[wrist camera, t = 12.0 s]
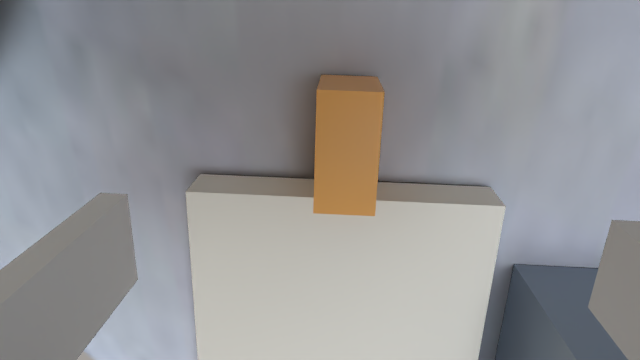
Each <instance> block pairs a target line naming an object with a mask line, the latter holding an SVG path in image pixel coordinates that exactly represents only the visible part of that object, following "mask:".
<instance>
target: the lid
mask: <svg viewBox="0 0 640 360" xmlns="http://www.w3.org/2000/svg"><path fill="white" fill-rule="evenodd" d="M384 94H385V92H384V90H383V88H382V86H381V83H380V81H379V79H378V77H373V76H347V75H321V77H320V80H319V84H318V87H317V95H316V131H315V167H314V179H301V178H278V177H256V176H233V175H211V174H200V175H199V176H198V178H197V179H196V180H195V181H194V182H193V184H192V185H191V186H190V187H189V188H188V189H187V191H186V204H187V217H188V231H189V245H190V259H191V272H192V286H193V300H194V313H195V327H196V341H197V355H198V360H478V357H479V351H480V346H481V340H482V335H483V329H484V324H485V318H486V313H487V307H488V302H489V296H490V291H491V285H492V280H493V274H494V269H495V263H496V258H497V252H498V246H499V241H500V235H501V230H502V224H503V219H504V213H505V208H506V206H505V205H504V204H503V202H502V201H501V200H500V199H499V197H498V196H497V195H496V194H495V192H494V191H493V190H492V189H491V187H480V186H458V185H435V184H413V183H390V182H378V171H379V158H380V145H381V132H382V120H383V107H384Z"/></svg>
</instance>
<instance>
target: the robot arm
mask: <svg viewBox="0 0 640 360" xmlns="http://www.w3.org/2000/svg"><path fill="white" fill-rule="evenodd" d="M137 280H138V277H137V269H136V261H135V253H134V245H133V236H132V228H131V220H130V212H129V204H128V196H127V194H111V193H100V194H98V195H97V196H96V197H94V198H93V199H92V200H91V201H89V202H88V203H87V204H85V205H84V206H83V207H82V208H80V209H79V210H78V211H76V212H75V213H74V214H72V215H71V216H70V217H69V218H67V219H66V220H65V221H63V222H62V223H61V224H59V225H58V226H57V227H56V228H54V229H53V230H52V231H50V232H49V233H48V234H46V235H45V236H44V237H43V238H41V239H40V240H39V241H37V242H36V243H35V244H34V245H32V246H31V247H30V248H28V249H27V250H26V251H24V252H23V253H22V254H21V255H19V256H18V257H17V258H15V259H14V260H13V261H11V262H10V263H9V264H8V265H6V266H5V267H4V268H2V269H1V270H0V360H77V358H78V357H79V356H80V355H81V353H82V352H83V351H84V349H85V348H86V347H87V345H88V344H89V343H90V342H91V340H92V339H93V338H94V336H95V335H96V334H97V332H98V331H99V330H100V328H101V327H102V326H103V324H104V323H105V322H106V321H107V319H108V318H109V317H110V315H111V314H112V313H113V311H114V310H115V309H116V307H117V306H118V305H119V304H120V302H121V301H122V300H123V298H124V297H125V296H126V294H127V293H128V292H129V290H130V289H131V288H132V286H133V285H134V284H135V283H136V281H137ZM588 308H589V309H590V311H591V312H592V313H593V315H594V316H595V317H596V319H597V320H598V321H599V322H600V324H601V325H602V326H603V328H604V329H605V330H606V332H607V333H608V334H609V336H610V337H611V338H612V339H613V341H614V342H615V343H616V345H617V346H618V347H619V349H620V350H621V351H622V352H623V354H624V355H625V356H626V358H627V359H628V360H640V221H622V220H612V221H611V225H610V228H609V232H608V236H607V239H606V243H605V247H604V250H603V254H602V257H601V261H600V265H599V268H598V272H597V276H596V279H595V283H594V287H593V290H592V294H591V297H590V301H589V305H588Z"/></svg>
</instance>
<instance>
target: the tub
mask: <svg viewBox="0 0 640 360" xmlns="http://www.w3.org/2000/svg"><path fill="white" fill-rule="evenodd" d="M597 272H598V268H578V267H558V266H538V265H517V264H514V267H513V272H512V277H511V282H510V287H509V292H508V297H507V302H506V307H505V313H504V318H503V323H502V328H501V333H500V338H499V343H498V348H497V353H496V358H495V360H628V359H627V358H626V356H625V355H624V354H623V352H622V351H621V350H620V349H619V347H618V346H617V345H616V343H615V342H614V341H613V339H612V338H611V337H610V336H609V334H608V333H607V332H606V330H605V329H604V328H603V326H602V325H601V324H600V322H599V321H598V320H597V319H596V317H595V316H594V315H593V313H592V312H591V311H590V309H589V308H588V305H589V301H590V297H591V294H592V290H593V287H594V283H595V279H596V276H597Z"/></svg>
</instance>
